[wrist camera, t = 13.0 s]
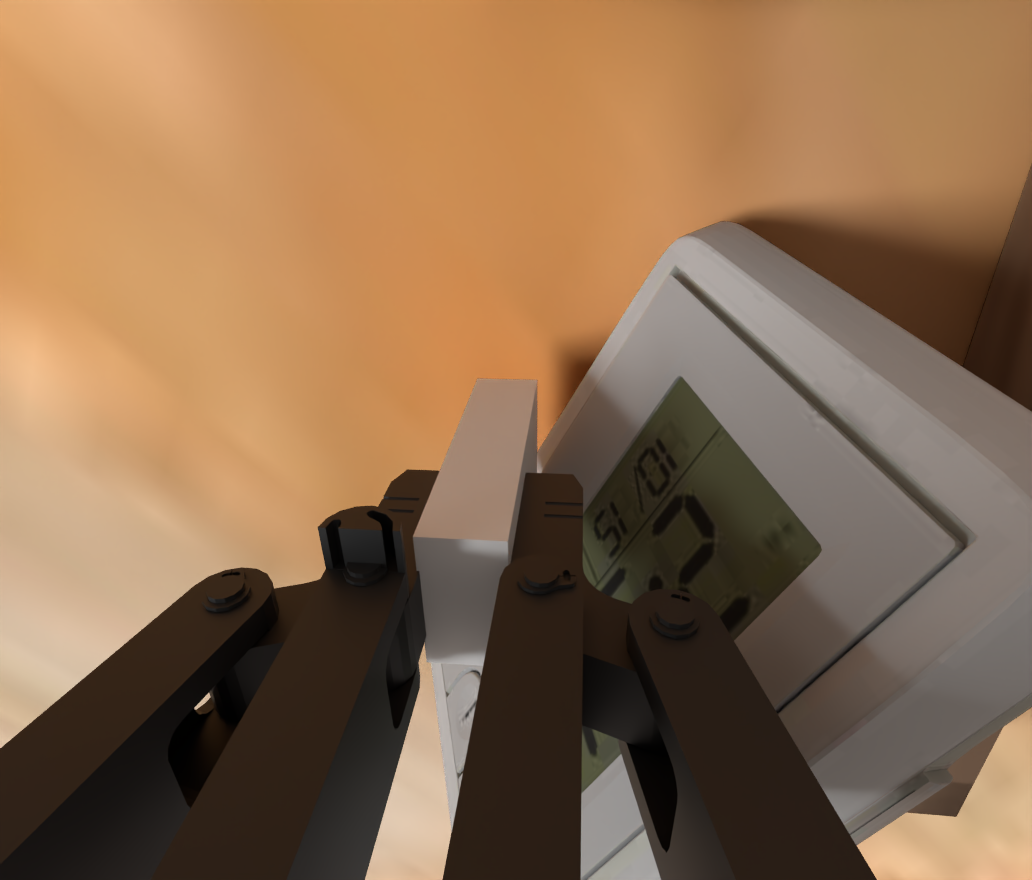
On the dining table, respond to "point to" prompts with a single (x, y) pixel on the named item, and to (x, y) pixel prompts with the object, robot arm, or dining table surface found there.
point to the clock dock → (1024, 378)
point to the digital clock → (798, 527)
